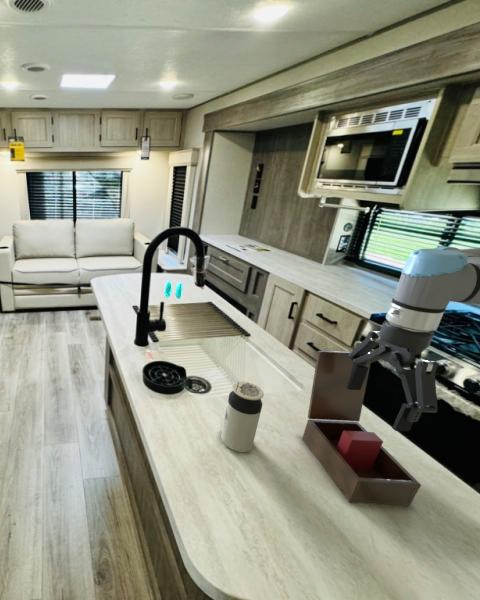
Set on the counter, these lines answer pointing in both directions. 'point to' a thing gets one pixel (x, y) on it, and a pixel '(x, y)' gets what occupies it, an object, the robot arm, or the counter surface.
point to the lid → (335, 388)
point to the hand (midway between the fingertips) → (374, 407)
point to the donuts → (169, 287)
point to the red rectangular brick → (359, 449)
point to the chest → (357, 484)
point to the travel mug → (242, 416)
